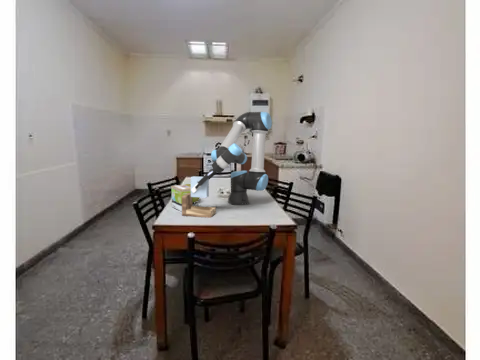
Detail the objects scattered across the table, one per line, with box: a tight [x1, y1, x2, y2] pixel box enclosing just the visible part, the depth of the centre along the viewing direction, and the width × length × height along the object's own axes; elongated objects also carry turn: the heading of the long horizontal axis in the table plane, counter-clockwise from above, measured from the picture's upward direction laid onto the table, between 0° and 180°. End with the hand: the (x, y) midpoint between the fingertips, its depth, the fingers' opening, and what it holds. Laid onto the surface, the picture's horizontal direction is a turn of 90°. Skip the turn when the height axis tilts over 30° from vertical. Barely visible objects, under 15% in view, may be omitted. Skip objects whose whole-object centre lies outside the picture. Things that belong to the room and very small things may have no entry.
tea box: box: [170, 184, 195, 213], centre depth 220 cm, size 15×10×15 cm, turn 35°
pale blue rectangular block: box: [190, 175, 210, 199], centre depth 204 cm, size 4×10×12 cm, turn 79°
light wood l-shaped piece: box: [181, 193, 217, 219], centre depth 206 cm, size 12×18×12 cm, turn 79°
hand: (193, 190), depth 205 cm, fingers closed on pale blue rectangular block, 4 cm apart
